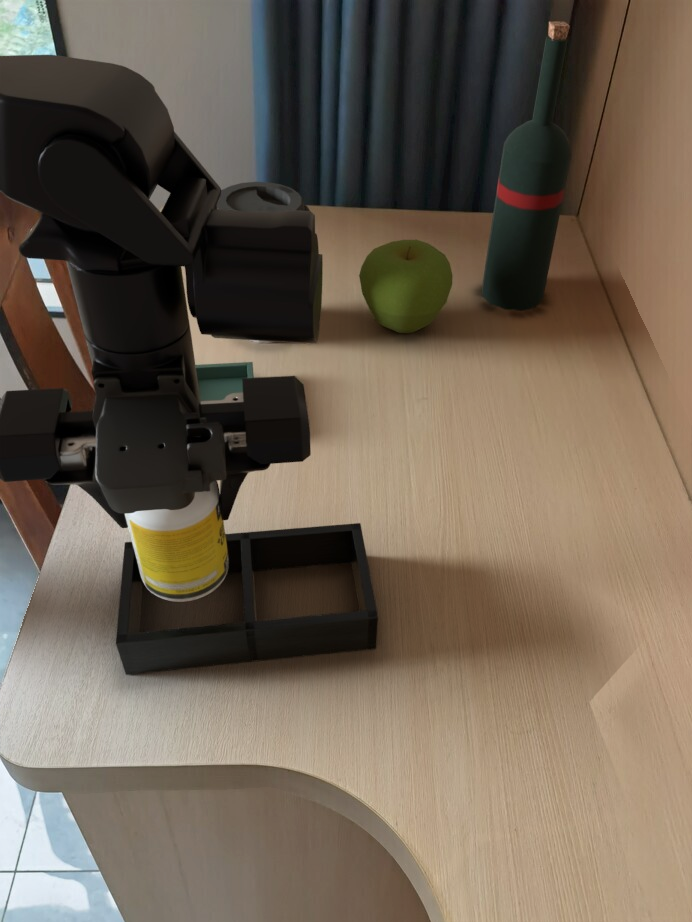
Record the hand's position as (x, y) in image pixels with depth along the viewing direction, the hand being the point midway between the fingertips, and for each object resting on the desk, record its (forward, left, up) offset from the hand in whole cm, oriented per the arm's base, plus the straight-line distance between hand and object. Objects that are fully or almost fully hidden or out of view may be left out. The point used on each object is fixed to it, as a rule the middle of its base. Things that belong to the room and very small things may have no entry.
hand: (175, 519), depth 56 cm
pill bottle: (0, 0, -6) cm, 6 cm away
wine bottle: (+39, +47, -11) cm, 62 cm away
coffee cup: (+8, +41, -11) cm, 44 cm away
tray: (+1, +26, -11) cm, 29 cm away
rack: (+5, 0, -11) cm, 12 cm away
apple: (+24, +40, -11) cm, 48 cm away
